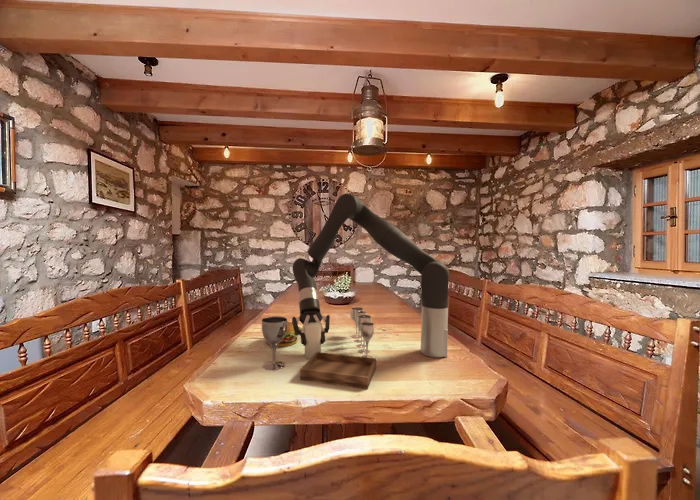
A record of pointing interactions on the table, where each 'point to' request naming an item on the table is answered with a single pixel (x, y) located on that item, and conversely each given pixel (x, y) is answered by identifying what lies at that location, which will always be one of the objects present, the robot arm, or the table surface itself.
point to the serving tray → (339, 370)
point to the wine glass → (274, 337)
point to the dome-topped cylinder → (312, 339)
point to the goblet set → (362, 329)
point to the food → (289, 336)
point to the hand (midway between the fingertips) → (313, 343)
